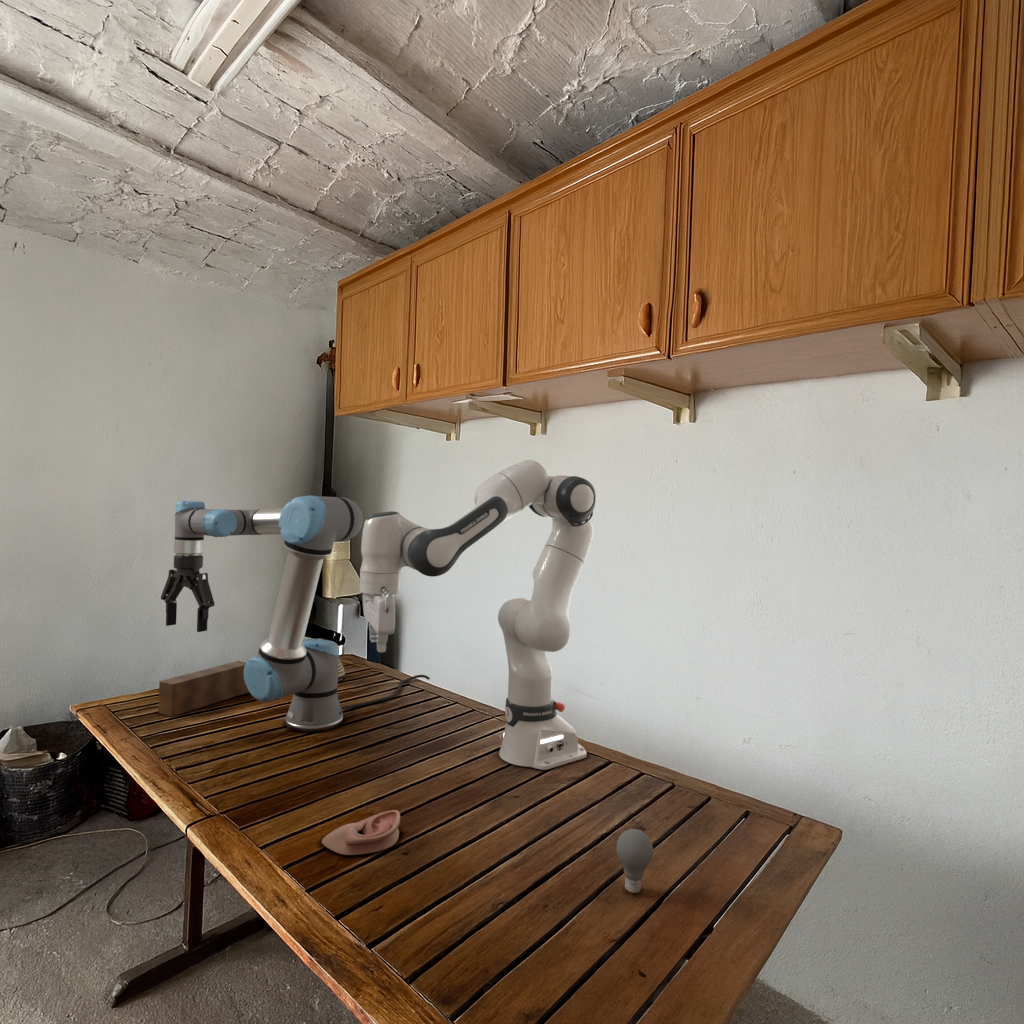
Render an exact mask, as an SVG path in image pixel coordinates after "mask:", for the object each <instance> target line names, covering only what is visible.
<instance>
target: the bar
mask: <svg viewBox="0 0 1024 1024" xmlns="http://www.w3.org/2000/svg"><path fill="white" fill-rule="evenodd" d="M246 663H247V661H246V662H245V661H240V660H236V661H233V662H229V663H228V662H227V663H224V664H221V665H217V666H214V667H209V668H205V669H202V670H197V671H194V672H189V673H186V674H182V675H178V676H174V677H170V678H167V679H163V680H162V679H161V680H159V682H158V683H159V684H158V712H157V714H160V715H163V716H168V717H171V718H172V717H175V716H178V715H182V714H185V713H188V712H191V711H194V710H198V709H200V708H204V707H207V706H210V705H213V704H216V703H219V702H222V701H226V700H229V699H232V698H235V697H238V696H241V695H244V694H247V693H250V692H249V691H248V688H247V686H246V684H245V680H244V667H245V665H246Z"/></svg>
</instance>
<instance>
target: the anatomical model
mask: <svg viewBox="0 0 1024 1024" xmlns="http://www.w3.org/2000/svg"><path fill="white" fill-rule="evenodd" d="M400 823H401V813H400V811H399V810H397V809H392V810H391V809H390V810H387V811H383V812H380V813H377V814H373V815H371V816H369V817H367V818H365V819H362V820H360V821H356V822H349V823H346V824H344V825H341V826H339V827H337V828H335V829H334V830H332V831H331V832H329V833H328V834H326V835H325V836H324V837H323V838H322V840H321V844H322V845H323V846H324V847H325V848H327V849H328V850H330V851H332V852H334V853H337V854H339V855H342V856H356V855H357V856H358V855H366V854H371V853H378V852H382V851H383V850H386V849H388V848H390V847H392V846H394V845H395V844H396V843H397V842H398V840H399V836H400V830H399V827H400Z"/></svg>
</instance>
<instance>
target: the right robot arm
mask: <svg viewBox="0 0 1024 1024" xmlns="http://www.w3.org/2000/svg"><path fill="white" fill-rule="evenodd" d="M596 502H597V494H596V490H595V487H594V485H593V484H592V483H591V482H590V481H589V480H587V479H585V478H584V477H581V476H576V475H572V476H571V475H561V474H560V475H551V476H550V475H548V473H547V471H546V469H545V467H543V465H541V463H539V462H537V461H536V460H532V459H527V460H526V459H525V460H524V461H520V462H518V463H514V464H512V465H511V466H508V467H506V468H504V469H502V470H501V471H499V472H497V473H495V474H493V475H491V476H490V477H489V478H488V479H486V480H485V481H484V482H482V483H481V484H480V485H479V486H478V487H477V488H476V490H475V493H474V505H475V506H474V507H473V508H472V509H471V510H470V511H468V512H467V513H465V514H464V515H462V516H461V517H459V518H458V519H456V520H454V521H453V522H452V523H450V524H449V525H447V526H445V527H440V528H426V527H424V526H421V525H419V524H416V523H414V522H412V521H410V520H408V518H406V517H404V516H403V515H401V513H400V512H399V511H392V510H391V511H390V510H389V511H380V512H375V513H372V514H370V515H368V516H367V517H366V518H365V520H364V522H363V527H362V533H361V543H360V545H361V546H360V554H361V560H362V561H361V566H360V568H359V569H360V570H359V588H358V589H359V593H360V594H362V610H363V611H362V612H363V617H364V619H365V620H366V621H367V622H368V631H369V641H370V642H371V643H376V651H377V653H385V652H387V643H388V640H389V635H393V634H394V633H395V629H396V605H395V604H396V602H395V595H397V594H399V593H400V592H401V576H402V575H401V574H402V573H401V572H402V571H401V570H402V568H403V567H408V568H411V569H412V570H416V571H417V572H419V574H421V575H423V576H426V577H431V578H432V577H440V576H442V575H444V574H446V573H448V572H449V571H450V570H451V569H452V567H454V565H455V564H456V563H457V560H458V559H459V558H460V557H461V555H462V554H463V553H464V552H465V551H466V550H467V549H469V548H470V547H471V546H472V545H474V544H475V543H477V542H478V541H480V539H482V538H483V537H484V536H486V535H487V534H489V533H490V532H491V531H493V530H494V529H495V528H497V527H498V526H499V525H501V524H502V523H505V522H506V521H508V520H510V519H511V518H513V517H515V516H517V515H518V514H520V513H521V512H522V511H525V509H527V508H529V509H530V511H532V512H533V513H534V514H535V515H537V516H539V517H543V518H549V519H551V521H552V524H551V525H552V526H551V532H550V534H549V535H548V538H547V540H546V542H545V544H544V546H543V549H542V550H541V553H540V555H539V557H538V559H537V562H536V564H535V566H534V567H533V569H532V570H533V571H532V578H533V588H532V594H531V597H530V599H529V598H526V597H525V598H524V597H519V598H518V597H517V598H511V599H508V600H506V601H505V602H504V603H503V604H502V605H501V606H500V609H499V610H498V614H497V623H498V625H499V627H500V629H501V632H502V636H503V639H504V645H505V652H506V658H507V665H508V666H507V667H508V684H507V688H508V689H507V697H506V699H505V710H504V715H505V716H504V719H505V726H504V731H503V734H502V741H501V745H500V749H499V751H498V756H499V758H500V759H502V760H503V761H504V762H506V763H508V764H511V765H514V766H519V767H526V768H533V769H536V770H539V771H540V770H541V771H547V770H550V769H553V768H557V767H560V766H563V765H566V764H570V763H573V762H576V761H581V760H583V759H586V758H587V757H588V756H587V755H588V754H587V750H586V748H585V747H584V746H582V744H580V743H579V740H578V739H579V738H578V734H577V732H576V729H575V728H574V727H573V726H572V725H571V724H570V723H569V722H567V721H566V720H565V719H564V718H563V717H562V716H560V715H559V714H558V712H560V713H563V712H564V711H565V710H566V709H565V708H566V705H565V704H564V703H561V702H560V701H556V700H554V699H552V696H553V695H552V693H553V673H554V672H553V668H552V666H551V663H550V661H549V659H548V656H547V653H555V652H558V651H561V650H562V649H564V648H565V647H566V646H567V645H568V643H569V642H570V639H571V636H572V625H571V621H570V617H569V616H570V615H569V614H570V613H569V612H570V605H571V600H572V599H571V598H572V594H573V591H574V588H575V586H576V583H577V581H578V578H579V576H580V574H581V571H582V569H583V567H584V564H585V561H586V559H587V557H588V555H589V552H590V549H591V545H592V541H593V537H594V532H595V530H594V526H593V523H592V522H591V521H590V520H591V519H592V517H593V515H594V509H595V507H596ZM557 711H558V712H557Z"/></svg>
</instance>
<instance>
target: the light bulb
mask: <svg viewBox="0 0 1024 1024" xmlns="http://www.w3.org/2000/svg"><path fill="white" fill-rule="evenodd" d="M615 849H616V854H617V857H618V859H619V861H620V863H621V865H622V867H623V873H624V874H623V875H624V876H625V878H624V888H625V890H627V891H628V892H630V893H634V894H635V893H639V892H640V891H641V889H642V887H641V886H642V879H643V877H644V875H645V871H646V868H647V867H648V866H649V864H650V863H651V861H652V859H653V855H654V847H653V843H652V841H651V838H649V836H648V835H647V834H646V833H645V832H643V831H642V830H641V829H636V828H629V829H627V830H625V831H623V832H622V833H621V834H620V835H619V837H618V839H617V841H616V847H615Z"/></svg>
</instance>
